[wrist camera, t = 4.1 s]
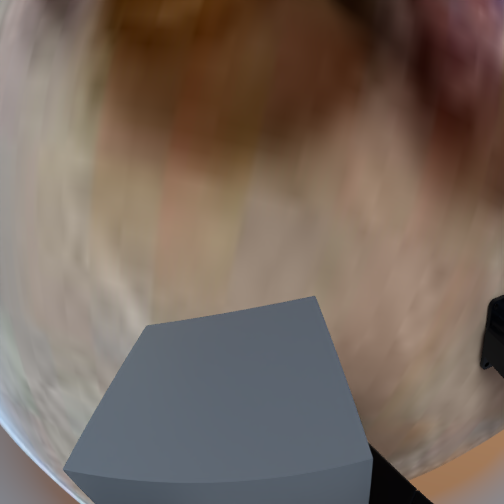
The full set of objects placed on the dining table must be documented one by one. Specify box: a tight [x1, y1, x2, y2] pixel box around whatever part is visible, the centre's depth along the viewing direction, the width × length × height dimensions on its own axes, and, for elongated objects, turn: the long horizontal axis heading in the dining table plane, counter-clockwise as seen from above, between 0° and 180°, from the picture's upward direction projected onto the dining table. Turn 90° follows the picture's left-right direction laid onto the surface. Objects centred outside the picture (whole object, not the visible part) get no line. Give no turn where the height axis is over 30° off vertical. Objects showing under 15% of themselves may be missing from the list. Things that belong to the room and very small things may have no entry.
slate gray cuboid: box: [63, 296, 373, 504], centre depth 7 cm, size 4×8×5 cm, turn 12°
